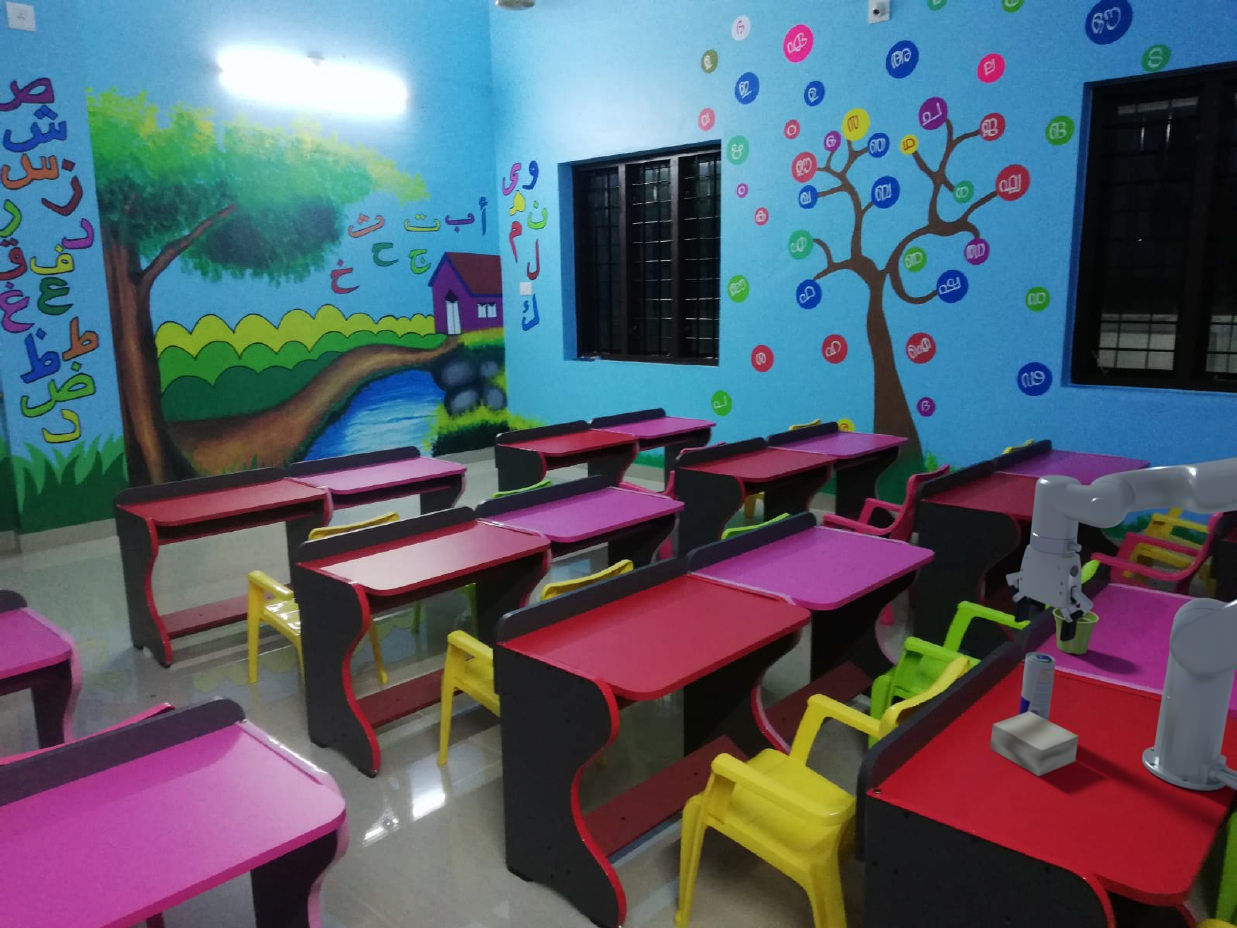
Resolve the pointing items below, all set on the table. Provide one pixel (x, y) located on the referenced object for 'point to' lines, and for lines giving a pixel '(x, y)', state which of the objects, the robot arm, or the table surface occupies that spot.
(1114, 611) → the table surface
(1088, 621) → the plant pot
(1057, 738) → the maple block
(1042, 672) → the beverage can
